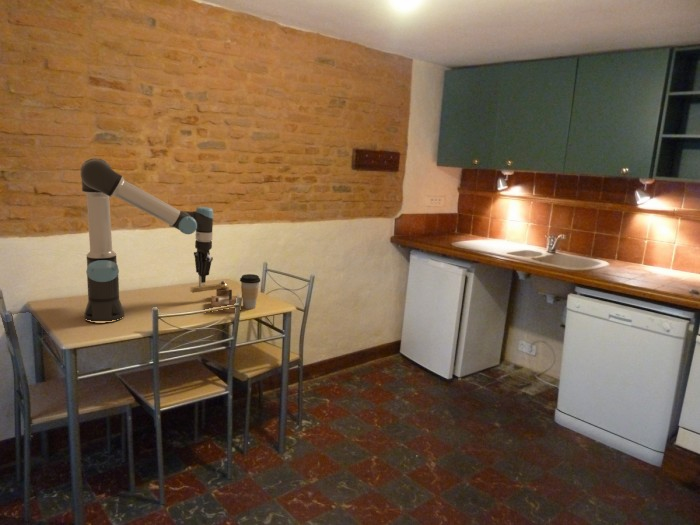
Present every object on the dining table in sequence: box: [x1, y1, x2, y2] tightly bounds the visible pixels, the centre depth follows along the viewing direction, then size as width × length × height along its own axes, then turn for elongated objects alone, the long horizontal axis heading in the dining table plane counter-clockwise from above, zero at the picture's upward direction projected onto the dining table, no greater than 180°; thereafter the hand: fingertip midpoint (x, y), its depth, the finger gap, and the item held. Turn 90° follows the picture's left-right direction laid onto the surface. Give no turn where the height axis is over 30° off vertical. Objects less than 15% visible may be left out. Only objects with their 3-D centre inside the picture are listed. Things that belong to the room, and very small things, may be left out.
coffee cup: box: [239, 273, 261, 310], centre depth 239 cm, size 9×9×15 cm
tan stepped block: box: [210, 289, 238, 314], centre depth 236 cm, size 12×14×8 cm
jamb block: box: [215, 286, 230, 296], centre depth 250 cm, size 6×6×5 cm
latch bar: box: [189, 280, 228, 294], centre depth 244 cm, size 18×4×3 cm, turn 130°
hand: (201, 288), depth 244 cm, fingers closed
